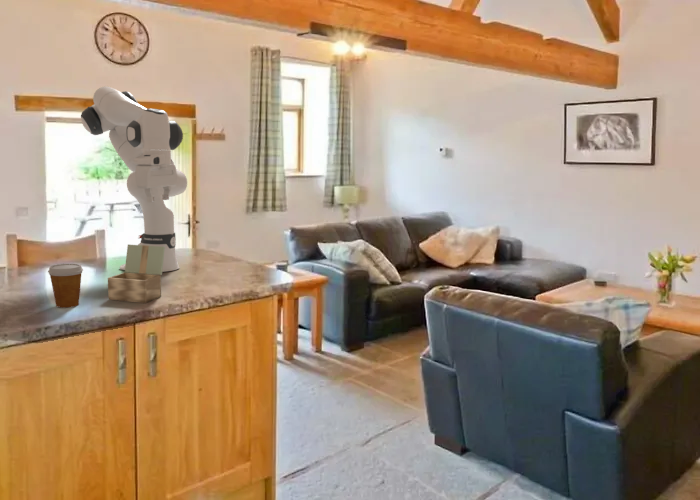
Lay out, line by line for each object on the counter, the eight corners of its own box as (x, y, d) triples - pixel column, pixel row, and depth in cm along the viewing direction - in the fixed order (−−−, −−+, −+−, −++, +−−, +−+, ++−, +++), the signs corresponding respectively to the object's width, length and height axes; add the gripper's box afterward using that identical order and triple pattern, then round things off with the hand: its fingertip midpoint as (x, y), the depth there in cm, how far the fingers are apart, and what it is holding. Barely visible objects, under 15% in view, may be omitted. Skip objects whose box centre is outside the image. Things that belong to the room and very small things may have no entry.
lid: (127, 244, 202) (129, 244, 203) (124, 271, 201) (126, 272, 202) (163, 246, 199) (164, 246, 200) (160, 274, 198) (161, 274, 199)
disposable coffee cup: (73, 299, 193) (71, 262, 191) (91, 304, 188) (89, 265, 186) (43, 305, 185) (41, 266, 183) (61, 311, 180) (59, 270, 178)
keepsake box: (108, 299, 194) (107, 277, 193) (125, 293, 202) (124, 272, 201) (145, 303, 191) (145, 280, 190) (161, 296, 200) (160, 275, 198)
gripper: (164, 158, 214) (166, 198, 216) (131, 159, 195) (132, 203, 197) (181, 158, 213) (182, 199, 215) (149, 159, 193) (150, 203, 195)
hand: (158, 201), depth 206 cm, fingers open, 8 cm apart
